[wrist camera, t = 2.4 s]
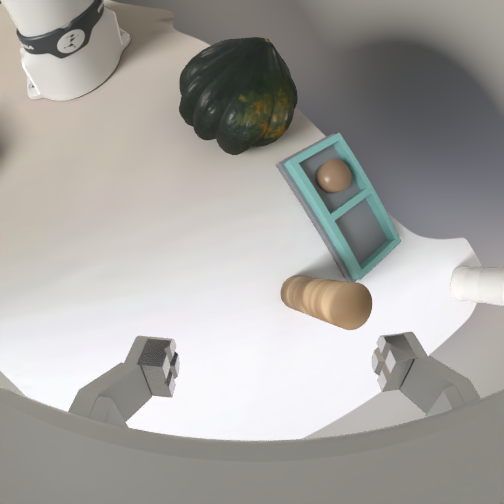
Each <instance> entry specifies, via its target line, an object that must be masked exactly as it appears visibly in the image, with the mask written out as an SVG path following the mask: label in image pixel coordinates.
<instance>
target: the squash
mask: <svg viewBox="0 0 504 504" xmlns="http://www.w3.org/2000/svg"><path fill="white" fill-rule="evenodd" d="M180 92H181V95H182V97H181V102H180V107H179V112H180V114H181V116H182V117H183V119H184V120H185V122H186V123H187V124H188V125H190V126H193V127H194V130H195V133H196V134H197V135H198V136H199V137H200V138H201V139H204V140H212V139H215V138H216V139H217V142H218V144H219V146H220V147H221V148H222V149H223V150H224V151H225V152H226V153H229V154H232V155H238V154H240V153H242V152H244V151H246V150H247V149H248V148H250V147H251V146H252V145H253V146H265V145H268V144H270V143H272V142H274V141H276V140H277V139H278V138H279V137H280V136H282V135H283V133H284V132H285V131H286V130H287V129H288V127H289V125H290V123H291V121H292V118H293V114H294V109H295V107H296V104H297V90H296V86H295V84H294V82H293V80H292V78H291V75H290V72H289V69H288V67H287V65H286V63H285V62H284V61H283V59H282V58H281V56H280V55H279V54H278V52H277V51H276V49H275V47H274V46H273V44H272V43H271V42H270V41H269V40H268V39H264V38H258V37H254V38H241V39H229V40H225V41H221V42H218V43H216V44H214V45H212V46H210V47H208V48H206V49H204V50H202V51H201V52H200V53H199V54H197V55H196V56H195V57H193V58H192V59H191V60H190V61H189V63H188V64H187V65H186V67H185V68H184V70H183V71H182V73H181V76H180Z"/></svg>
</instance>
